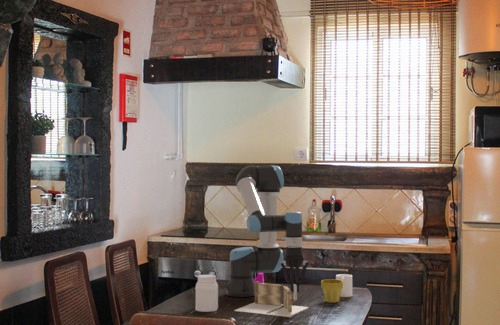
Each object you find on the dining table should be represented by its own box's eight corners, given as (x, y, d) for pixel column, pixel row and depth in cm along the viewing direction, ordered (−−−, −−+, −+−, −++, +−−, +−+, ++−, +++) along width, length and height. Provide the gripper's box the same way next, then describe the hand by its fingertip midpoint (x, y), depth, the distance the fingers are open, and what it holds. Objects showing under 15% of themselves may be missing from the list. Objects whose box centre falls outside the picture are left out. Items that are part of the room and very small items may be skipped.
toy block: (263, 286, 382) (263, 272, 382) (262, 288, 376) (262, 274, 376) (236, 285, 384) (236, 271, 384) (234, 287, 377) (234, 273, 377)
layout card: (234, 311, 317) (234, 310, 317) (256, 302, 337) (256, 301, 337) (289, 317, 305) (289, 316, 305) (308, 307, 324) (308, 306, 324)
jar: (215, 311, 315) (215, 278, 315) (194, 311, 316) (194, 278, 316) (218, 306, 327) (218, 274, 327) (198, 306, 327) (198, 273, 327)
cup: (334, 298, 347) (334, 277, 347) (336, 293, 359) (336, 273, 359) (350, 298, 346) (350, 278, 346) (353, 294, 357) (353, 274, 357)
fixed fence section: (253, 303, 333) (253, 281, 333) (255, 302, 335) (255, 281, 335) (280, 305, 326) (280, 284, 326) (282, 305, 328) (282, 283, 328)
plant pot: (321, 303, 334) (321, 282, 334) (320, 299, 345) (320, 279, 344) (343, 303, 334) (343, 282, 334) (341, 299, 344) (341, 279, 344)
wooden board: (281, 304, 327) (281, 285, 327) (286, 304, 328) (286, 285, 328) (288, 312, 309) (288, 292, 309) (292, 312, 309) (292, 292, 309)
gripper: (280, 247, 311) (281, 301, 311) (309, 247, 312) (310, 300, 312) (278, 246, 318) (279, 298, 318) (306, 245, 319) (307, 297, 319)
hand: (295, 299), depth 315 cm, fingers closed
